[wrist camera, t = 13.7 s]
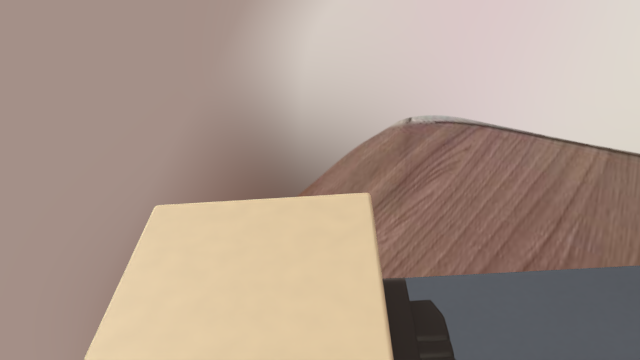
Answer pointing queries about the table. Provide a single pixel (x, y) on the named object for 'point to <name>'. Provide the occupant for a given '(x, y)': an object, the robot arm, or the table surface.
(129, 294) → the tan rectangular block
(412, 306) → the robot arm
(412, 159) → the table surface
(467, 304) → the dark gray square slab
